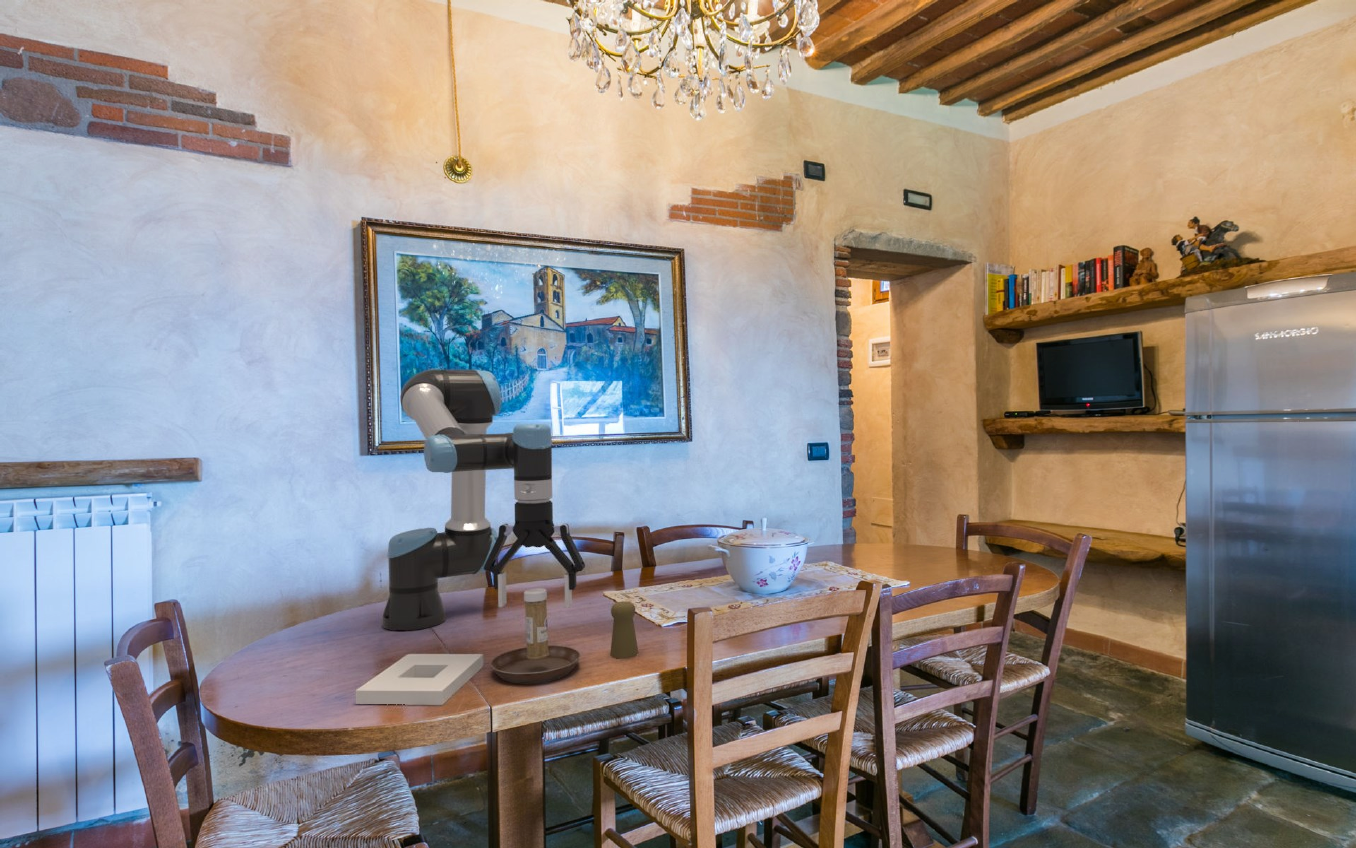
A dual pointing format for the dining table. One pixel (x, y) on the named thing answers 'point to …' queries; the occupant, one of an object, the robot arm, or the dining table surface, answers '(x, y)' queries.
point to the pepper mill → (623, 631)
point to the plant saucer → (535, 665)
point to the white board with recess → (420, 679)
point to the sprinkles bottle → (536, 623)
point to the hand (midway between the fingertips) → (535, 605)
